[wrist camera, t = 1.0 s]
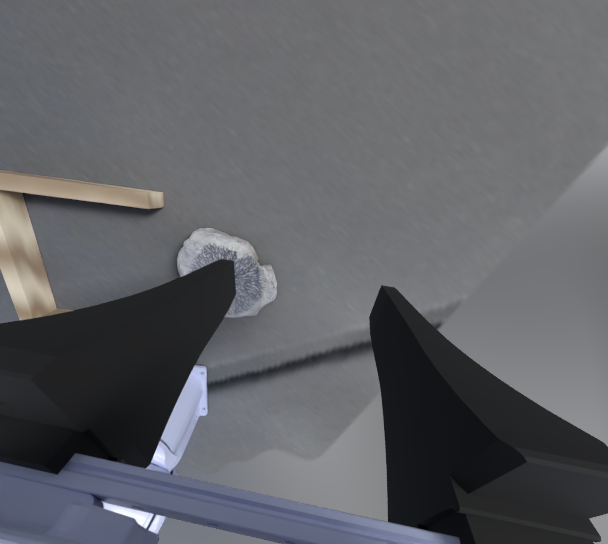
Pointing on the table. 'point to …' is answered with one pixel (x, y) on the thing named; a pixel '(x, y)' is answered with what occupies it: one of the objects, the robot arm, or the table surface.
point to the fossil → (248, 273)
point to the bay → (22, 242)
